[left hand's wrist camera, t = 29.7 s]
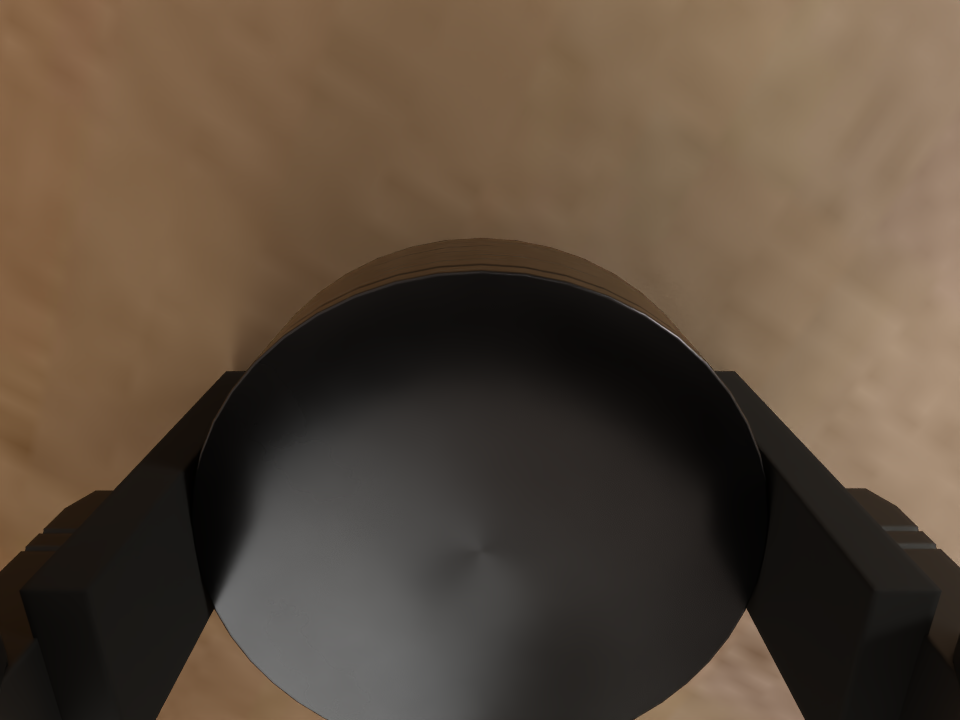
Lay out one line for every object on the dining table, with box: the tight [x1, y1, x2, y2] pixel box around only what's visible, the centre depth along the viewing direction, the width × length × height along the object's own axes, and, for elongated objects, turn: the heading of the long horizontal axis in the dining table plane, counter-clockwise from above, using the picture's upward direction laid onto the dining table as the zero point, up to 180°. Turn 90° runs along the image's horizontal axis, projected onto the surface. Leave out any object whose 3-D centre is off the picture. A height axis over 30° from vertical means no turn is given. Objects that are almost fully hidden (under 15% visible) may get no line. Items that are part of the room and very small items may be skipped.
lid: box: [192, 238, 769, 720], centre depth 11 cm, size 9×9×2 cm
